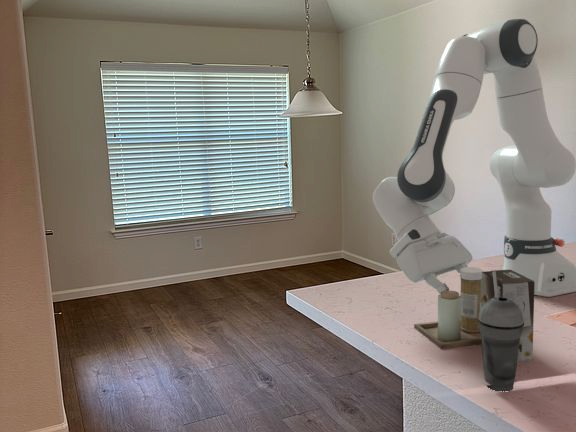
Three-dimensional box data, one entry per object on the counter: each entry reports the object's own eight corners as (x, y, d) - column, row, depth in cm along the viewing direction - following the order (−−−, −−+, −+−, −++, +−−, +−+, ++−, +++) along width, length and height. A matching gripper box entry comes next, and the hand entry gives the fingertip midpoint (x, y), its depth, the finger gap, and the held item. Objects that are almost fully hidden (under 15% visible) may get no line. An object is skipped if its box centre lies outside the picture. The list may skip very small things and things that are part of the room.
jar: (453, 333, 111) (454, 288, 109) (465, 341, 106) (466, 295, 105) (433, 336, 110) (433, 290, 108) (444, 344, 105) (444, 297, 104)
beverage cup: (518, 400, 84) (522, 280, 81) (472, 390, 88) (473, 275, 85) (525, 381, 91) (528, 269, 88) (481, 372, 94) (483, 265, 91)
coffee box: (534, 365, 97) (537, 281, 94) (501, 367, 96) (502, 283, 94) (509, 345, 106) (511, 268, 103) (478, 348, 105) (480, 270, 103)
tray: (480, 324, 118) (480, 316, 118) (512, 343, 106) (513, 335, 106) (414, 331, 115) (414, 324, 115) (440, 353, 103) (440, 344, 103)
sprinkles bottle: (486, 330, 112) (487, 268, 110) (473, 335, 109) (474, 272, 107) (468, 324, 116) (468, 265, 114) (454, 329, 113) (455, 268, 111)
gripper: (439, 239, 128) (475, 286, 121) (384, 253, 115) (421, 306, 109) (455, 223, 123) (493, 270, 117) (400, 236, 111) (439, 289, 105)
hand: (458, 288), depth 113 cm, fingers open, 8 cm apart
